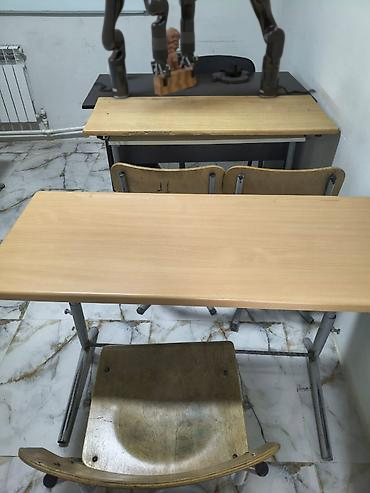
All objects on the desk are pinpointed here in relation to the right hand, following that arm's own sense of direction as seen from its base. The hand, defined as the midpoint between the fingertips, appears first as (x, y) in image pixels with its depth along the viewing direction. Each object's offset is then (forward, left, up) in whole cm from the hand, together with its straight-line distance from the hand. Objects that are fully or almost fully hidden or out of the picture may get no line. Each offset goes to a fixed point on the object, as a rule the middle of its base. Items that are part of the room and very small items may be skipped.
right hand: (188, 76), depth 188 cm
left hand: (+15, +9, -1) cm, 17 cm away
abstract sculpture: (-33, -36, -13) cm, 51 cm away
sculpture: (+2, -36, -13) cm, 39 cm away
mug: (+39, -54, -13) cm, 68 cm away
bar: (+7, +5, -5) cm, 10 cm away
